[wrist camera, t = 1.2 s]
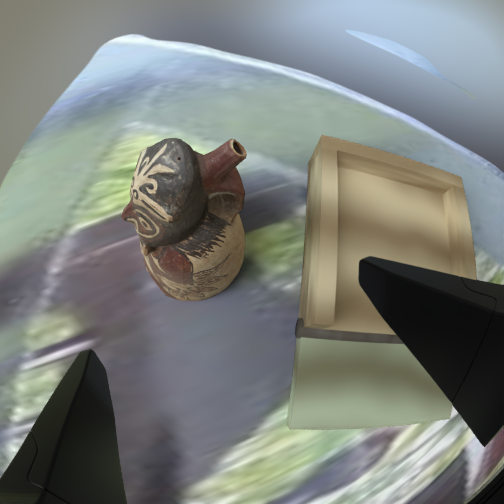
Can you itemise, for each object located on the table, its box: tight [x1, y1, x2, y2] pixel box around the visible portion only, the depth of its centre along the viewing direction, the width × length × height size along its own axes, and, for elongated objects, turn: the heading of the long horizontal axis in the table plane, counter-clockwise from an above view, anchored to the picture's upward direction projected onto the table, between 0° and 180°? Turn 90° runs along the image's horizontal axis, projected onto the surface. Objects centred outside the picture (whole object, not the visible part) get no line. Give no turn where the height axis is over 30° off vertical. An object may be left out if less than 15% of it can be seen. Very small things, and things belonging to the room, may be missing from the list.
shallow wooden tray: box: [286, 135, 477, 430], centre depth 22 cm, size 21×14×4 cm
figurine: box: [122, 138, 246, 301], centre depth 17 cm, size 7×7×12 cm
